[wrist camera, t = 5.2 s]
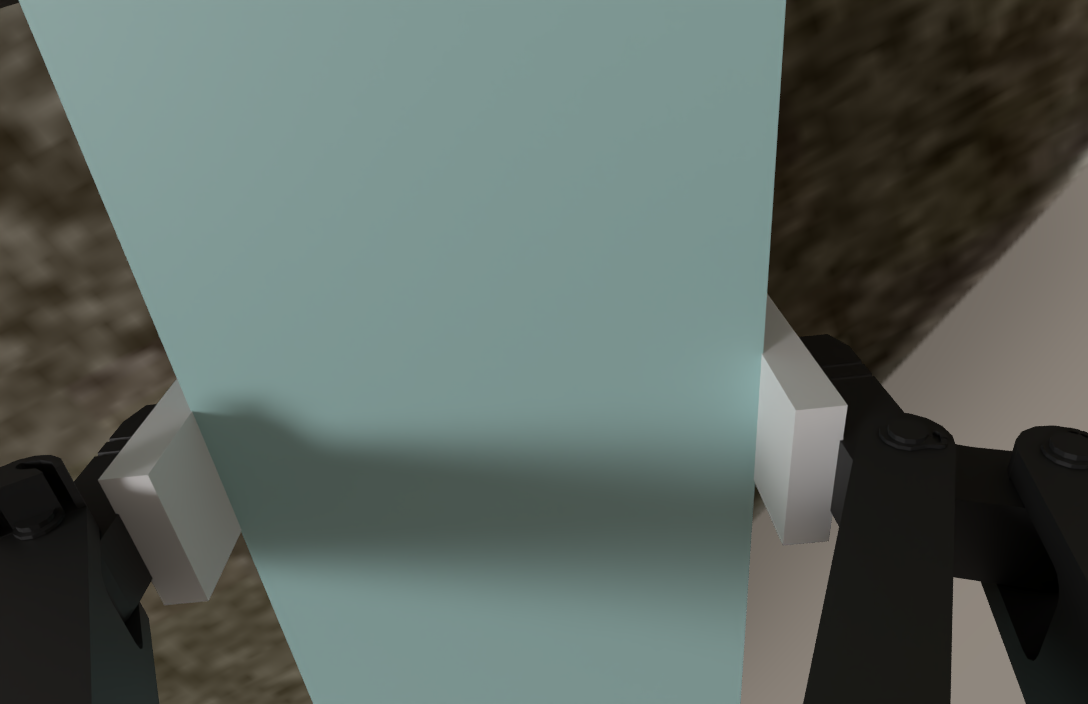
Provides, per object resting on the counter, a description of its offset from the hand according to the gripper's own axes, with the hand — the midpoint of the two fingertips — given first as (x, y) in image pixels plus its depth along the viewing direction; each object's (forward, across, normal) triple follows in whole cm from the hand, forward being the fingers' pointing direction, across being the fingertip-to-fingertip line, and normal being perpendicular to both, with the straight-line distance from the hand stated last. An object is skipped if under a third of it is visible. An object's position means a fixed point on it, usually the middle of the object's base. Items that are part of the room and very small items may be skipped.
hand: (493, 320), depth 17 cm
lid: (-3, 0, 0) cm, 3 cm away
